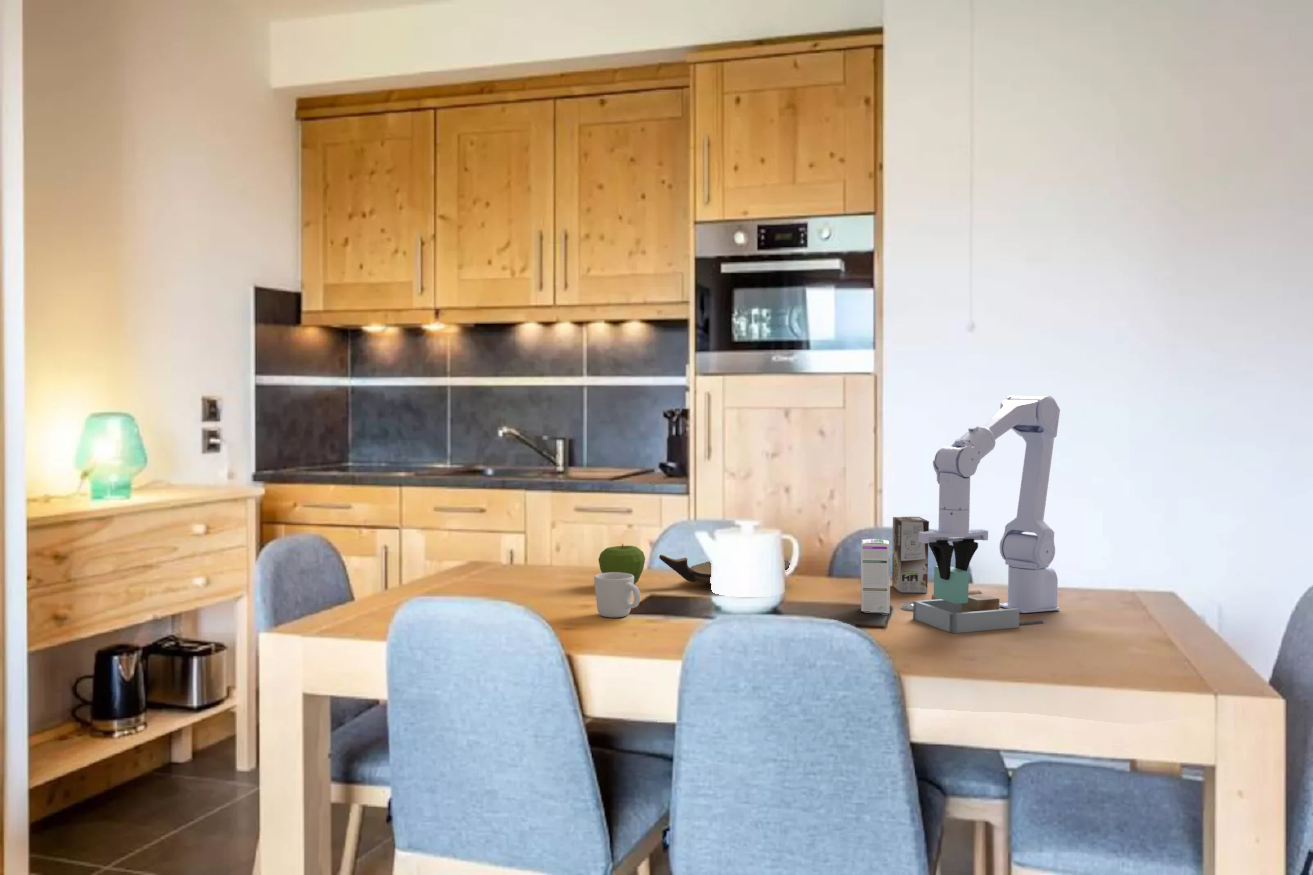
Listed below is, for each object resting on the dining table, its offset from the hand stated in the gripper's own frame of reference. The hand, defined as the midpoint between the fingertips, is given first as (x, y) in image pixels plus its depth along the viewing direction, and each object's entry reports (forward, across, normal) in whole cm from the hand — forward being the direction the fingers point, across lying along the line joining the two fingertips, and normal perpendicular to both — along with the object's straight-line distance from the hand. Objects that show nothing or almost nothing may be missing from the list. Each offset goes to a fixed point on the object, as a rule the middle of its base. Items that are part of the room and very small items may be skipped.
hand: (952, 578), depth 206 cm
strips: (+9, -14, 0) cm, 17 cm away
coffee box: (+9, -12, -33) cm, 36 cm away
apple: (+9, +50, -55) cm, 75 cm away
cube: (+9, -6, 0) cm, 11 cm away
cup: (+9, +59, -26) cm, 66 cm away
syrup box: (+9, +8, -14) cm, 19 cm away
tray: (+9, -3, 0) cm, 9 cm away
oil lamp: (+9, +26, -50) cm, 57 cm away
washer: (+9, -1, -14) cm, 17 cm away
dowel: (+9, -14, -18) cm, 24 cm away
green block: (+4, 0, 0) cm, 4 cm away
